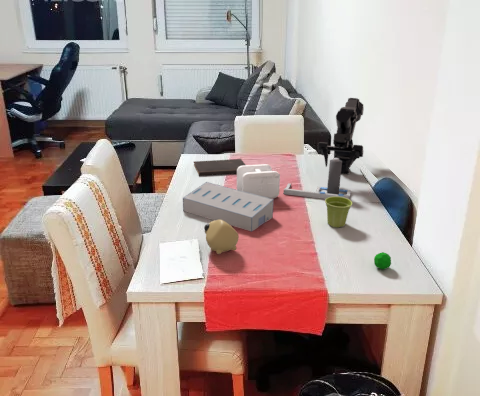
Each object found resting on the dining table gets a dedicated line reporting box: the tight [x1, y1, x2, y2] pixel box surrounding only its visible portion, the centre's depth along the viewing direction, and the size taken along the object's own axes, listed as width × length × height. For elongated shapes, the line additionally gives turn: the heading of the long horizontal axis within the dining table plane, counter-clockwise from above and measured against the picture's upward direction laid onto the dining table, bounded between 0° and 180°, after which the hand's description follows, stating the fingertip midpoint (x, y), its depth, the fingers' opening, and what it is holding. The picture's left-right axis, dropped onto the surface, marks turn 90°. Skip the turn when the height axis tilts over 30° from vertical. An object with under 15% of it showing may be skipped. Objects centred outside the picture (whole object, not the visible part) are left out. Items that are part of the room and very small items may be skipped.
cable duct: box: [283, 182, 351, 200], centre depth 204 cm, size 12×26×2 cm, turn 74°
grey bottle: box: [326, 157, 342, 195], centre depth 201 cm, size 5×5×15 cm
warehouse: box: [182, 181, 275, 233], centre depth 182 cm, size 30×14×8 cm, turn 57°
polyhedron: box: [373, 251, 392, 270], centre depth 148 cm, size 5×5×5 cm
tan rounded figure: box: [204, 219, 239, 255], centre depth 155 cm, size 10×12×11 cm
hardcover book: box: [193, 158, 246, 177], centre depth 230 cm, size 16×23×2 cm
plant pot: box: [324, 197, 353, 228], centre depth 175 cm, size 9×9×9 cm
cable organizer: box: [236, 163, 281, 199], centre depth 198 cm, size 15×11×12 cm
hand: (337, 167), depth 208 cm, fingers open, 9 cm apart
